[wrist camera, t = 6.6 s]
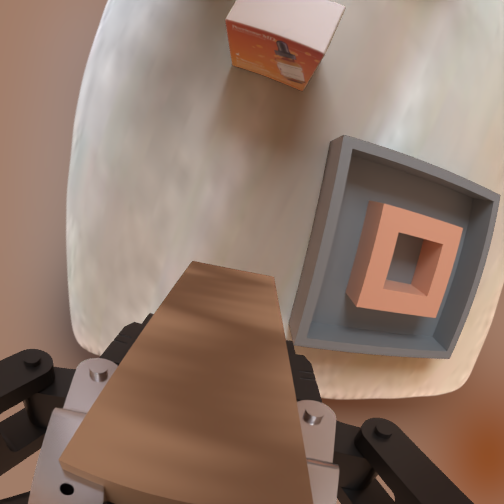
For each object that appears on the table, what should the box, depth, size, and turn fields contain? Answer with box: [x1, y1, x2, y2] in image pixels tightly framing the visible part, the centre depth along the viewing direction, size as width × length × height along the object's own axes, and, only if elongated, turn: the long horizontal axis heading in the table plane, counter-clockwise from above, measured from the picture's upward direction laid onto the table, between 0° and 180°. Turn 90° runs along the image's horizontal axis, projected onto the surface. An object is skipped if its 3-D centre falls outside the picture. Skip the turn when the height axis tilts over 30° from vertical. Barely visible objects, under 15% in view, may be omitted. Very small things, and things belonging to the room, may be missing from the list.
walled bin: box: [289, 135, 500, 359], centre depth 29 cm, size 20×20×5 cm
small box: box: [225, 0, 346, 91], centre depth 22 cm, size 8×6×10 cm
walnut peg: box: [59, 261, 313, 504], centre depth 9 cm, size 4×4×12 cm
